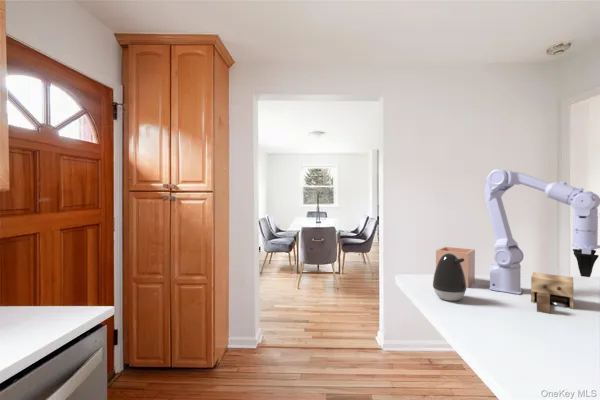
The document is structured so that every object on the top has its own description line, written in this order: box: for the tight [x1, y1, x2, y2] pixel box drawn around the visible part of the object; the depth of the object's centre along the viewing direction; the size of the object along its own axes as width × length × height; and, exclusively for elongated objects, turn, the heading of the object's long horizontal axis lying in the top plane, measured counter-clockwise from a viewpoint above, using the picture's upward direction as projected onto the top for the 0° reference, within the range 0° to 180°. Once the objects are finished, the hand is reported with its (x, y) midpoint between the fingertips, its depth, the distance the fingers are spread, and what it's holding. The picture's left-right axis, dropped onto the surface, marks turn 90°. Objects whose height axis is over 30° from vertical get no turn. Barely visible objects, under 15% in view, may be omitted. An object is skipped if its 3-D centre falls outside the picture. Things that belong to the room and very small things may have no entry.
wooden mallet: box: [536, 293, 568, 315], centre depth 102 cm, size 7×16×5 cm, turn 141°
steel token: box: [550, 300, 568, 308], centre depth 103 cm, size 4×4×1 cm
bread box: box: [530, 272, 574, 310], centre depth 106 cm, size 10×10×8 cm
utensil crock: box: [435, 246, 476, 289], centre depth 131 cm, size 12×12×13 cm
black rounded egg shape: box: [432, 253, 467, 302], centre depth 110 cm, size 10×10×15 cm
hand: (584, 274), depth 102 cm, fingers open, 7 cm apart
